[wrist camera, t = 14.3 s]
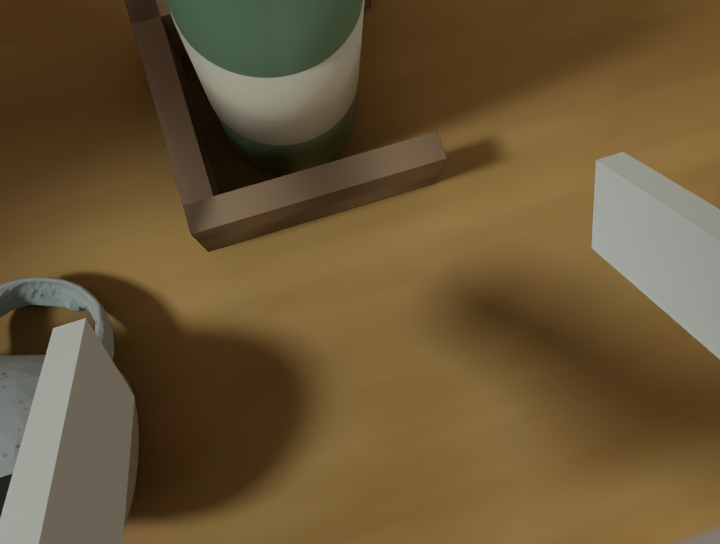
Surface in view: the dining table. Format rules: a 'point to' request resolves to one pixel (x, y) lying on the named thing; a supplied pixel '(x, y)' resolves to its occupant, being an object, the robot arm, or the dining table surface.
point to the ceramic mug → (21, 372)
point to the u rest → (273, 197)
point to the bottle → (277, 74)
